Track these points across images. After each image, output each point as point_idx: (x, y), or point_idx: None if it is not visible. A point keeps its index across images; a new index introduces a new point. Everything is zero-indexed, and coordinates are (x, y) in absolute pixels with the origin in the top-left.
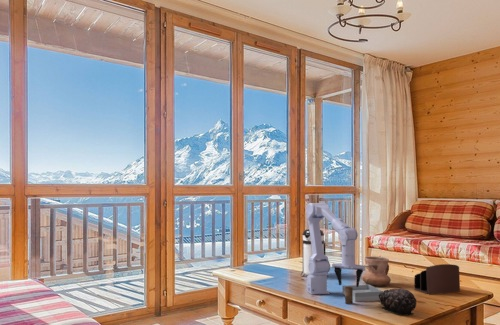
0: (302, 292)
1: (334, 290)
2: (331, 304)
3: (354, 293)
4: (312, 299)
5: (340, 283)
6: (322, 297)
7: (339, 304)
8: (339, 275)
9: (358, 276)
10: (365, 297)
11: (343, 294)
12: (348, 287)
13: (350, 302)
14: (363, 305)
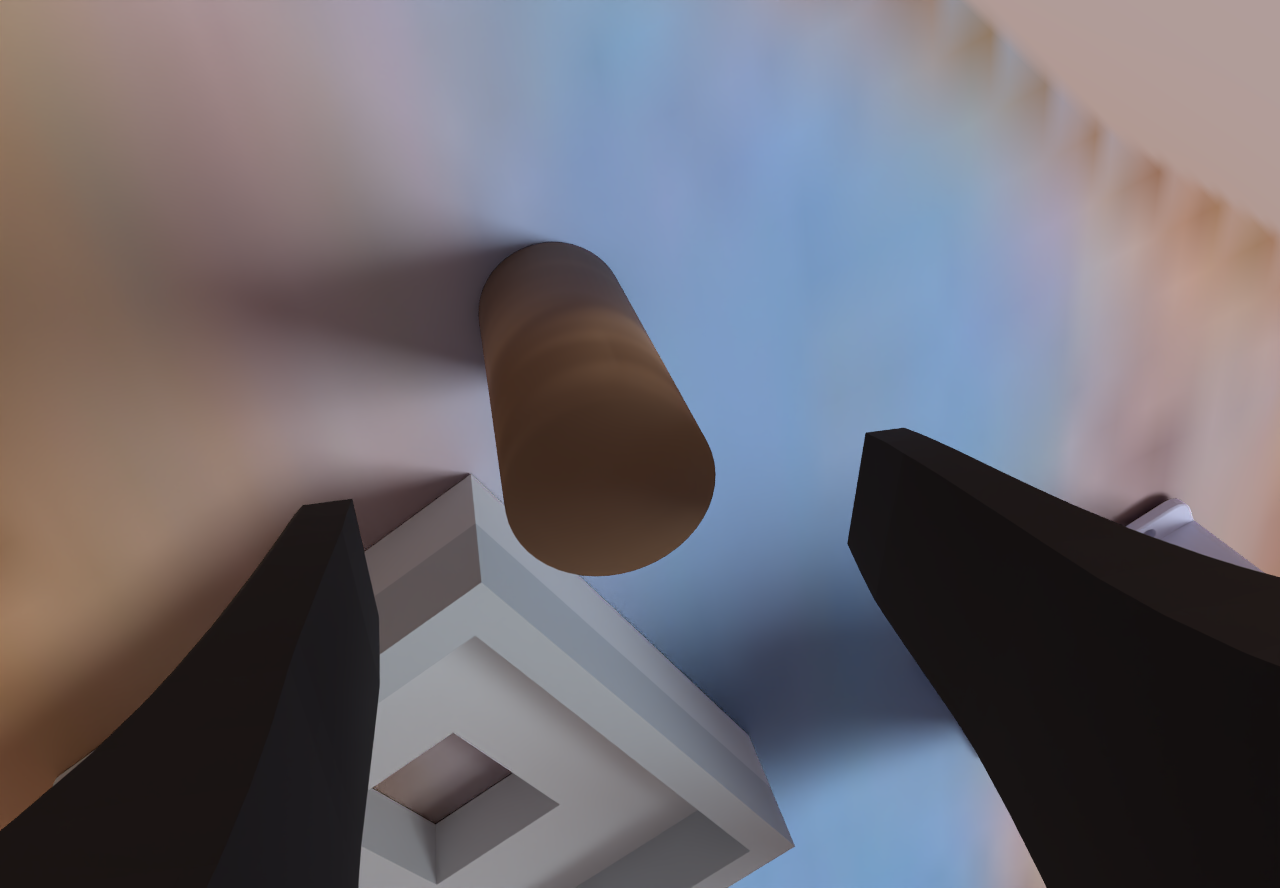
0: (1275, 541)
1: (865, 810)
2: (869, 59)
3: (501, 584)
4: (1194, 252)
5: (897, 451)
6: (1025, 446)
7: (714, 140)
8: (1131, 590)
9: (114, 793)
10: None
11: (733, 722)
12: (623, 486)
13: (509, 272)
14: (228, 303)
